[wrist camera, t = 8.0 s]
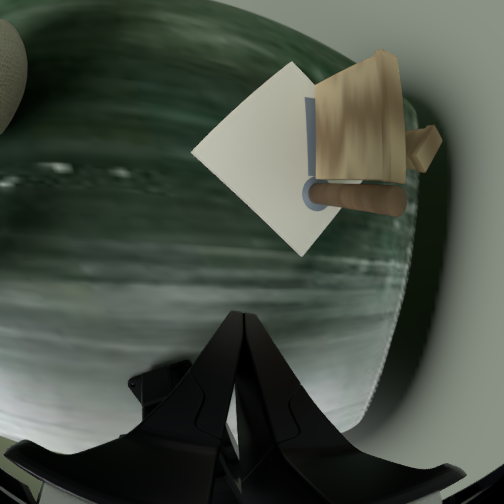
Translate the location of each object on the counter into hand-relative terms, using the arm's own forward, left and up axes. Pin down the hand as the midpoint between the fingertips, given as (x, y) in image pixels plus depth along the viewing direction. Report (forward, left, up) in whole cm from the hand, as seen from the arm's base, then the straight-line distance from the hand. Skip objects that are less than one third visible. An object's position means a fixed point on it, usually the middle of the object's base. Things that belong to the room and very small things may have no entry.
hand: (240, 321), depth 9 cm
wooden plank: (+2, -14, -12) cm, 18 cm away
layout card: (+4, -10, -12) cm, 17 cm away
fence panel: (+6, -13, -12) cm, 18 cm away
